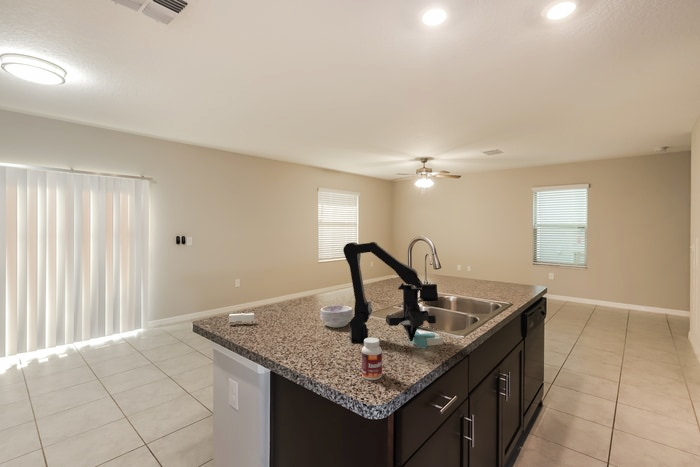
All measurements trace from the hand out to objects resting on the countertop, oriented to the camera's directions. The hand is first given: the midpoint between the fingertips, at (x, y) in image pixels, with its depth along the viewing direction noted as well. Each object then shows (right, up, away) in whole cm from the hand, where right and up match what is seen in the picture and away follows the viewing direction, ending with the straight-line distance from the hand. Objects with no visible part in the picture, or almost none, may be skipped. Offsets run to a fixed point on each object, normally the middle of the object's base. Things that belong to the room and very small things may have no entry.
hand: (411, 341), depth 124 cm
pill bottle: (-17, -2, -27) cm, 32 cm away
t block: (+5, -1, +1) cm, 5 cm away
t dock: (+8, -1, +1) cm, 8 cm away
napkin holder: (-75, -3, +29) cm, 81 cm away
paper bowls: (-30, -2, +26) cm, 40 cm away
